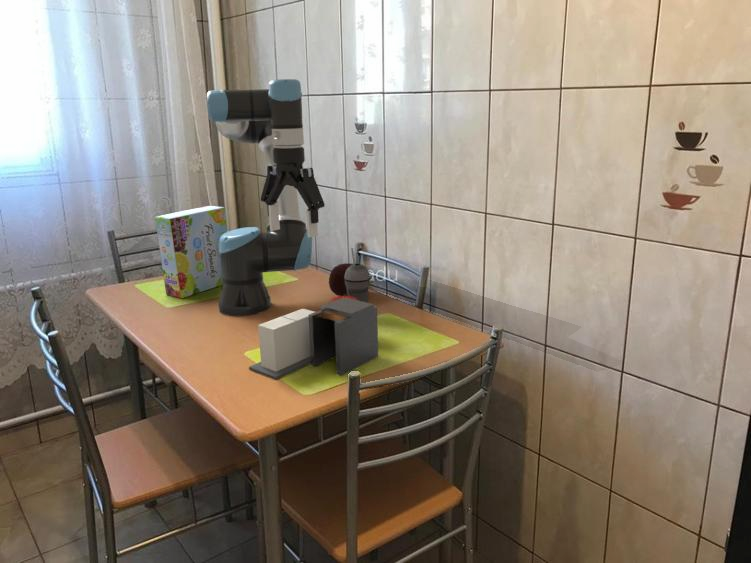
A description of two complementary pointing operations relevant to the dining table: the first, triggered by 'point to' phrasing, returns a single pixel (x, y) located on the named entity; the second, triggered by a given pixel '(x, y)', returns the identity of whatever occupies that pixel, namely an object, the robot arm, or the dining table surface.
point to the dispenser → (344, 334)
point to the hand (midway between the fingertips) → (293, 233)
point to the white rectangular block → (285, 340)
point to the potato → (338, 279)
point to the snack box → (191, 249)
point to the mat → (282, 372)
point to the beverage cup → (357, 281)
